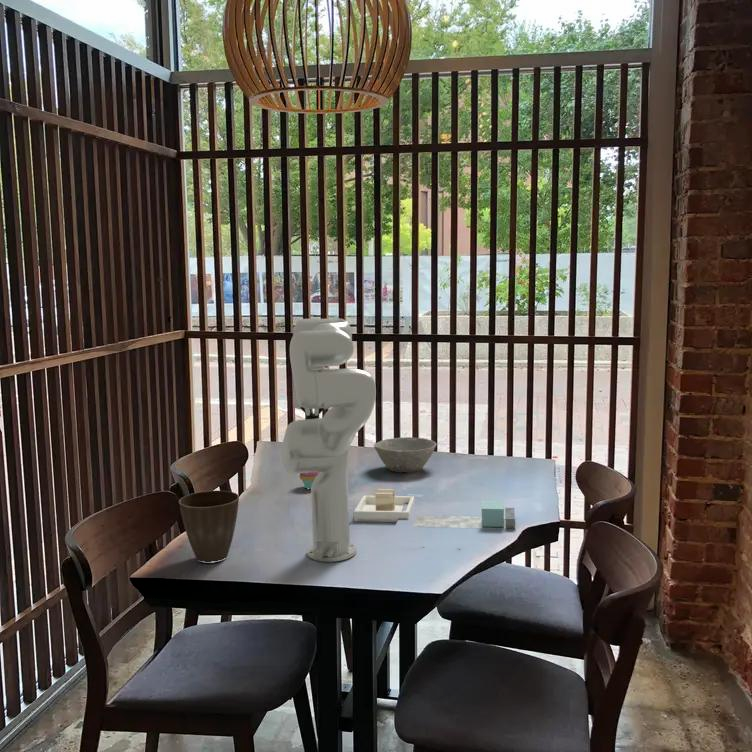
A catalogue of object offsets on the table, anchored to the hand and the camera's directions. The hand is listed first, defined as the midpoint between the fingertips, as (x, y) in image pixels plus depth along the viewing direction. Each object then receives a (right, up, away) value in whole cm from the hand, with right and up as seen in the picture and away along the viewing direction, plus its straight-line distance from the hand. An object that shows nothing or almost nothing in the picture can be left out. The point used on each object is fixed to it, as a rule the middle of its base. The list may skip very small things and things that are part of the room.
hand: (313, 428), depth 208 cm
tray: (+20, -27, +17) cm, 37 cm away
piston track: (+42, -28, +3) cm, 51 cm away
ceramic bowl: (+28, -20, +67) cm, 75 cm away
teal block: (+50, -26, +2) cm, 57 cm away
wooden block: (+20, -26, +16) cm, 37 cm away
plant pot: (-25, -32, -16) cm, 44 cm away
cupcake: (-4, -24, +47) cm, 53 cm away
